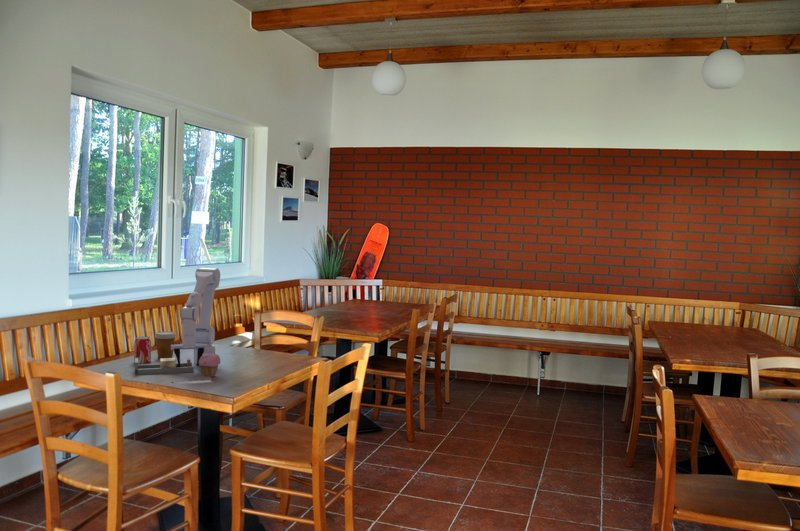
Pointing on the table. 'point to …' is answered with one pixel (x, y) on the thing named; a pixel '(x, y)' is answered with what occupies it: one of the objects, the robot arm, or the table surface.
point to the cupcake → (209, 364)
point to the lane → (157, 370)
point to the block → (172, 363)
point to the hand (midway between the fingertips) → (188, 365)
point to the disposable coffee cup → (165, 343)
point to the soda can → (142, 350)
